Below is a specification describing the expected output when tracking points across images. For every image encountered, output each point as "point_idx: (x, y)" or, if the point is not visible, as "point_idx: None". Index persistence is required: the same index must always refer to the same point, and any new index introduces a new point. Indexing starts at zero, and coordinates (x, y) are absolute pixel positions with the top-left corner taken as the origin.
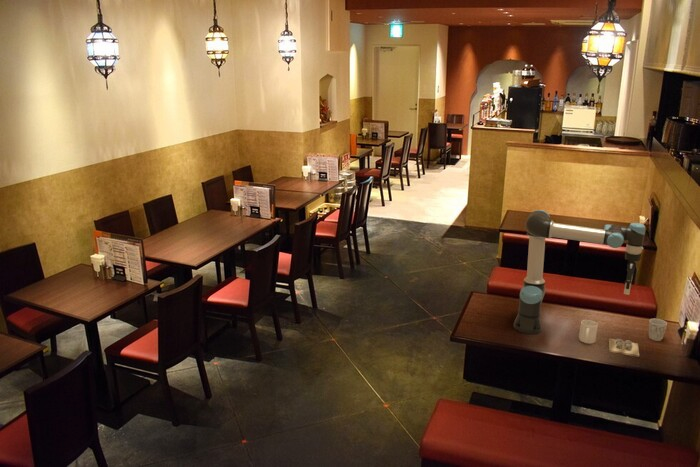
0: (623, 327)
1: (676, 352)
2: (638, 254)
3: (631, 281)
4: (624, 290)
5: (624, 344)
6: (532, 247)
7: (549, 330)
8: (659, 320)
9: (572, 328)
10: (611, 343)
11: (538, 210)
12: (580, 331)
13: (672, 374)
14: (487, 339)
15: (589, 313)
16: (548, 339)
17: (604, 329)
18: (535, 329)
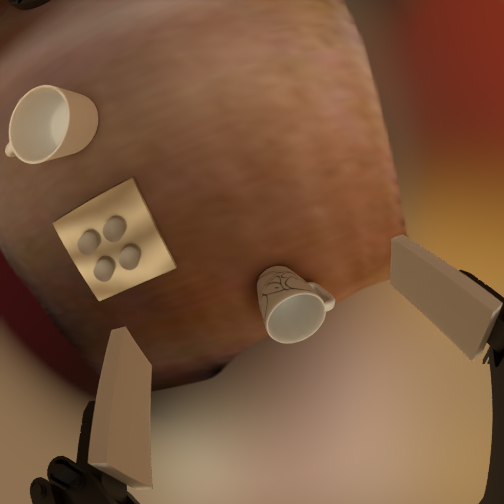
0: (295, 173)
1: (220, 347)
2: None
3: (423, 313)
4: (106, 363)
5: (129, 240)
6: None
7: (69, 6)
8: (321, 310)
9: (138, 35)
10: (99, 204)
11: None
12: (38, 105)
13: (96, 370)
14: None
15: (333, 40)
16: (8, 52)
17: (222, 122)
18: (15, 4)
